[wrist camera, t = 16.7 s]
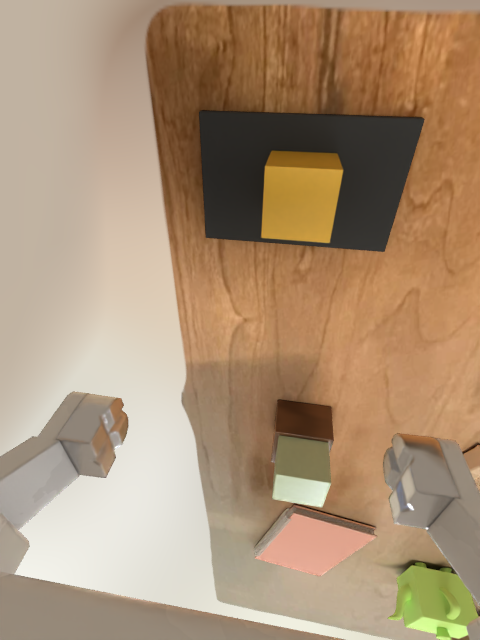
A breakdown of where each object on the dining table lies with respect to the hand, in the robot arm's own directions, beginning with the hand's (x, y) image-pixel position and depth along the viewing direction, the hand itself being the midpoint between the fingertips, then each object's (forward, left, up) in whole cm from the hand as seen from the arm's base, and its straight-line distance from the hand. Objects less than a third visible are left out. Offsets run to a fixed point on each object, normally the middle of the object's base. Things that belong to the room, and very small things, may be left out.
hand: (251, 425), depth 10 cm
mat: (+1, +1, -23) cm, 23 cm away
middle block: (+5, -30, -18) cm, 35 cm away
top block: (+1, +1, -22) cm, 22 cm away
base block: (+5, -30, -23) cm, 38 cm away
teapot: (+37, -75, -23) cm, 87 cm away
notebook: (+11, -70, -23) cm, 75 cm away
